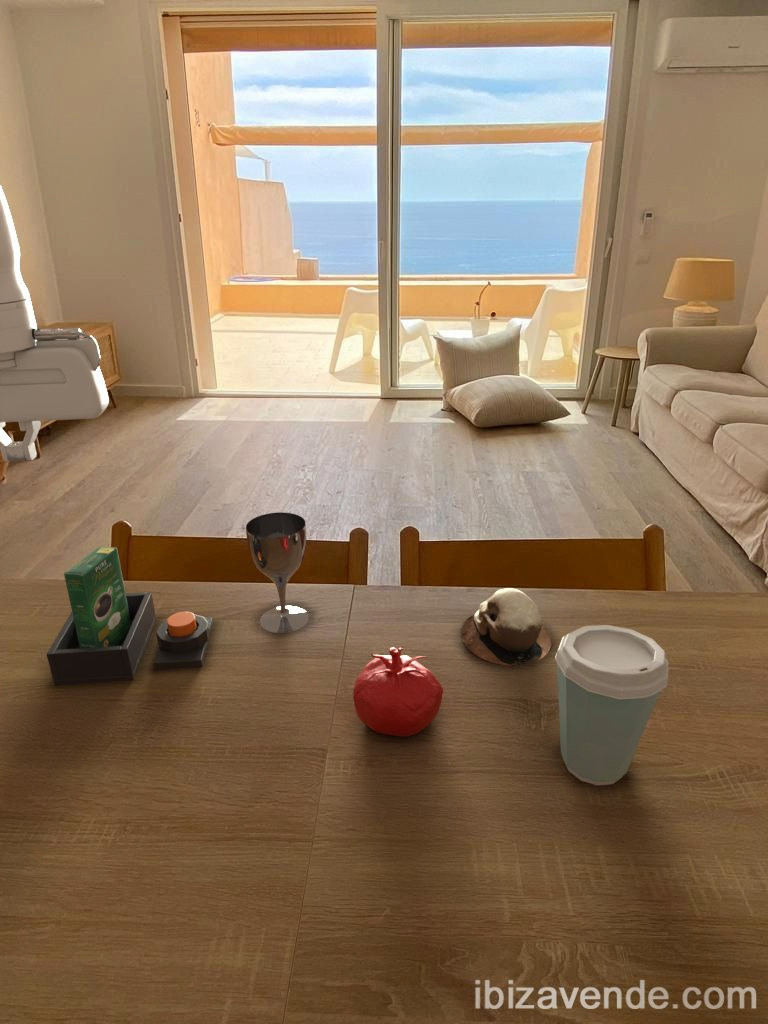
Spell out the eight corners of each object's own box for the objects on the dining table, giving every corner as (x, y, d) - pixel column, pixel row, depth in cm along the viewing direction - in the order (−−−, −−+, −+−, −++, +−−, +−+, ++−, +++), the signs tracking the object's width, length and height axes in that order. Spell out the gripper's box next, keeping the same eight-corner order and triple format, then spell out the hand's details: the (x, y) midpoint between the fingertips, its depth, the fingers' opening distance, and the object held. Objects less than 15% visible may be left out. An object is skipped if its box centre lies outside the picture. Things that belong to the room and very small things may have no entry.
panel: (152, 670, 88) (148, 651, 87) (168, 626, 98) (165, 608, 96) (204, 667, 89) (201, 648, 88) (215, 624, 98) (212, 605, 97)
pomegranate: (413, 762, 73) (413, 691, 70) (337, 727, 78) (333, 660, 75) (457, 708, 81) (459, 642, 77) (384, 680, 86) (383, 616, 82)
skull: (437, 622, 95) (481, 562, 95) (483, 650, 101) (525, 593, 101) (485, 668, 85) (534, 601, 85) (533, 696, 91) (580, 634, 90)
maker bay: (54, 686, 86) (46, 654, 84) (87, 624, 98) (81, 595, 96) (133, 680, 87) (127, 649, 85) (156, 620, 99) (151, 591, 97)
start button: (166, 638, 90) (164, 627, 90) (171, 623, 94) (169, 612, 93) (194, 636, 91) (192, 625, 90) (198, 621, 94) (196, 610, 93)
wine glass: (244, 620, 99) (233, 525, 92) (289, 598, 104) (281, 507, 98) (279, 642, 94) (269, 543, 87) (323, 619, 99) (318, 524, 92)
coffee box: (116, 627, 96) (98, 543, 91) (135, 630, 96) (118, 545, 90) (81, 662, 89) (60, 573, 83) (101, 665, 88) (81, 575, 83)
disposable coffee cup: (525, 742, 76) (535, 627, 70) (606, 717, 79) (623, 605, 73) (583, 816, 67) (601, 690, 60) (673, 784, 70) (698, 662, 64)
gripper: (103, 322, 74) (125, 445, 79) (-99, 328, 72) (-61, 453, 78) (84, 332, 68) (110, 465, 74) (-135, 339, 66) (-91, 474, 72)
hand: (20, 459), depth 76 cm, fingers closed
